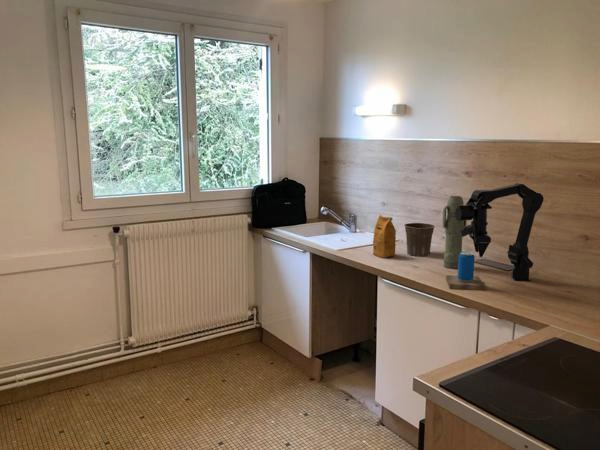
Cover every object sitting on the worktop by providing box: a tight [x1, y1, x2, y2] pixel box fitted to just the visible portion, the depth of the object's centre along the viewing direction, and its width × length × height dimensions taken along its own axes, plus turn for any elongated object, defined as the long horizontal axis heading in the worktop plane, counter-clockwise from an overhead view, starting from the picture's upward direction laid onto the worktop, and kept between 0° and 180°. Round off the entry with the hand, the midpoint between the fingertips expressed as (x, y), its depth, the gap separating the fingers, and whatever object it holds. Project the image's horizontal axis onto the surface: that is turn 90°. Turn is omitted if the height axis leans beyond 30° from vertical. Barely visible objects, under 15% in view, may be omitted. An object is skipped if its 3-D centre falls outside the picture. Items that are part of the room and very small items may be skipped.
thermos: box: [442, 195, 468, 270], centre depth 245 cm, size 9×12×35 cm
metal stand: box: [445, 274, 485, 291], centre depth 217 cm, size 14×14×2 cm
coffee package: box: [372, 214, 397, 259], centre depth 271 cm, size 10×12×22 cm
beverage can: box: [457, 251, 476, 282], centre depth 216 cm, size 6×6×12 cm
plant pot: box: [404, 222, 436, 257], centre depth 274 cm, size 16×16×16 cm
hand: (478, 254), depth 219 cm, fingers open, 9 cm apart
